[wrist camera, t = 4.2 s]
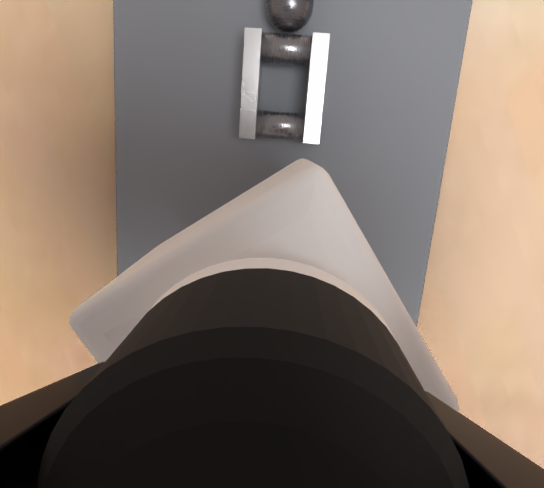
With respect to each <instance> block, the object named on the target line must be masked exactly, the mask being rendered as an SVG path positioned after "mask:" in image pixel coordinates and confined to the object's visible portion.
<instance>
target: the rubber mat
mask: <svg viewBox="0 0 544 488" xmlns="http://www.w3.org/2000/svg"><path fill="white" fill-rule="evenodd" d="M266 1H267V0H113V11H114V78H115V145H116V212H117V276H118V275H120V274H121V273H122V272H124V271H125V270H126V269H128V268H129V267H130V266H132V265H133V264H134V263H136V262H137V261H138V260H140V259H141V258H142V257H143V256H145V255H146V254H147V253H149V252H150V251H151V250H153V249H154V248H155V247H157V246H158V245H160V244H161V243H163V242H164V241H166V240H168V239H169V238H171V237H173V236H174V235H176V234H177V233H179V232H181V231H182V230H184V229H186V228H187V227H189V226H190V225H192V224H194V223H195V222H197V221H199V220H200V219H202V218H203V217H205V216H207V215H208V214H210V213H212V212H213V211H215V210H217V209H218V208H220V207H221V206H223V205H225V204H226V203H228V202H230V201H231V200H233V199H234V198H236V197H238V196H239V195H241V194H243V193H244V192H246V191H247V190H249V189H251V188H252V187H254V186H256V185H257V184H259V183H260V182H262V181H264V180H265V179H267V178H269V177H270V176H272V175H273V174H275V173H277V172H278V171H280V170H282V169H283V168H285V167H286V166H288V165H290V164H291V163H293V162H295V161H296V160H298V159H302V158H304V159H308V160H310V161H311V162H313V163H315V164H317V165H319V166H321V167H322V168H323V169H324V170H325V171H326V172H327V173H328V174H329V175H330V177H331V179H332V180H333V182H334V184H335V186H336V187H337V189H338V191H339V193H340V194H341V196H342V198H343V200H344V201H345V203H346V205H347V207H348V208H349V210H350V212H351V214H352V215H353V217H354V219H355V221H356V222H357V224H358V226H359V228H360V229H361V231H362V233H363V235H364V236H365V238H366V240H367V242H368V243H369V245H370V247H371V249H372V250H373V252H374V254H375V256H376V257H377V259H378V261H379V263H380V264H381V266H382V268H383V270H384V271H385V273H386V275H387V277H388V278H389V280H390V282H391V284H392V285H393V287H394V289H395V291H396V292H397V294H398V296H399V298H400V299H401V301H402V303H403V305H404V306H405V308H406V310H407V312H408V313H409V315H410V317H411V319H412V320H413V322H414V324H415V326H416V327H417V322H418V316H419V310H420V305H421V299H422V293H423V287H424V281H425V275H426V269H427V263H428V258H429V252H430V246H431V240H432V234H433V228H434V222H435V217H436V211H437V205H438V199H439V193H440V187H441V181H442V176H443V170H444V164H445V158H446V152H447V146H448V140H449V135H450V129H451V123H452V117H453V111H454V105H455V99H456V93H457V88H458V82H459V76H460V70H461V64H462V58H463V52H464V47H465V41H466V35H467V29H468V23H469V17H470V11H471V6H472V0H314V3H313V11H312V15H311V17H310V19H309V21H308V23H307V24H306V25H305V26H304V27H303V28H302V29H300V30H298V31H296V32H291V33H287V32H283V31H280V30H279V29H277V28H276V27H275V26H274V25H273V24H272V23H271V21H270V20H269V17H268V15H267V10H266ZM245 27H247V28H261V29H262V32H269V33H282V34H296V35H310V36H312V35H313V32H316V33H330V44H329V54H328V61H327V70H326V80H325V91H324V101H323V111H322V125H321V134H320V141H319V144H304V143H301V142H302V141H298V140H285V139H272V138H259V137H258V140H252V139H242V138H239V126H240V108H241V89H242V71H243V52H244V34H245ZM307 75H308V66H301V65H288V64H274V63H263V70H262V85H261V101H260V110H266V111H280V112H293V113H304V108H305V97H306V86H307Z"/></svg>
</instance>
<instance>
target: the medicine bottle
mask: <svg viewBox="0 0 544 488" xmlns="http://www.w3.org/2000/svg"><path fill="white" fill-rule="evenodd" d="M69 323H70V325H71V328H72V329H73V331H74V332H75V333H76V335H77V336H78V337H79V339H80V340H81V341H82V343H83V344H84V345H85V347H86V348H87V349H88V350H89V352H90V353H91V354H92V356H93V357H94V358H95V360H96V361H97V362H98V364H99V363H101V362H105V361H106V362H105V363H104V364H103V365H102V366H101V367H100V369H99V370H98V371H97V372H96V373H95V375H94V376H93V377H92V378H91V379H90V380H89V382H88V383H87V384H86V385H85V386H84V388H83V389H82V390H81V391H80V392H79V393H78V395H77V396H76V397H75V398H74V399H73V401H72V402H71V403H70V404H69V405H68V407H67V408H66V409H65V410H64V412H63V414H62V415H61V417H60V419H59V420H58V422H57V424H56V426H55V427H54V429H53V431H52V432H51V435H50V437H49V440H48V443H47V445H46V448H45V451H44V453H43V456H42V460H41V465H40V470H39V476H38V481H37V488H469V483H468V480H467V476H466V473H465V469H464V466H463V462H462V459H461V457H460V455H459V453H458V451H457V449H456V447H455V444H454V442H453V440H452V438H451V436H450V434H449V432H448V431H447V429H446V427H445V425H444V424H443V422H442V420H441V418H440V417H439V415H438V413H437V411H436V410H435V408H434V406H433V404H432V402H431V401H430V399H429V397H428V395H427V394H426V392H425V391H427V392H429V393H431V394H432V395H433V396H435V397H436V398H438V399H439V400H441V401H442V402H444V403H445V404H447V405H448V406H450V407H451V408H453V409H454V410H456V411H457V412H458V410H459V406H458V402H457V397H456V396H455V394H454V392H453V390H452V389H451V387H450V385H449V383H448V382H447V380H446V378H445V376H444V375H443V373H442V371H441V369H440V368H439V366H438V364H437V362H436V361H435V359H434V357H433V355H432V354H431V352H430V350H429V348H428V347H427V345H426V343H425V341H424V340H423V338H422V336H421V334H420V333H419V331H418V329H417V327H416V326H415V324H414V322H413V320H412V319H411V317H410V315H409V313H408V312H407V310H406V308H405V306H404V305H403V303H402V301H401V299H400V298H399V296H398V294H397V292H396V291H395V289H394V287H393V285H392V284H391V282H390V280H389V278H388V277H387V275H386V273H385V271H384V270H383V268H382V266H381V264H380V263H379V261H378V259H377V257H376V256H375V254H374V252H373V250H372V249H371V247H370V245H369V243H368V242H367V240H366V238H365V236H364V235H363V233H362V231H361V229H360V228H359V226H358V224H357V222H356V221H355V219H354V217H353V215H352V214H351V212H350V210H349V208H348V207H347V205H346V203H345V201H344V200H343V198H342V196H341V194H340V193H339V191H338V189H337V187H336V186H335V184H334V182H333V180H332V179H331V177H330V175H329V174H328V173H327V172H326V171H325V170H324V169H323V168H322V167H321V166H319V165H317V164H315V163H313V162H311V161H310V160H308V159H304V158H302V159H298V160H296V161H295V162H293V163H291V164H290V165H288V166H286V167H285V168H283V169H282V170H280V171H278V172H277V173H275V174H273V175H272V176H270V177H269V178H267V179H265V180H264V181H262V182H260V183H259V184H257V185H256V186H254V187H252V188H251V189H249V190H247V191H246V192H244V193H243V194H241V195H239V196H238V197H236V198H234V199H233V200H231V201H230V202H228V203H226V204H225V205H223V206H221V207H220V208H218V209H217V210H215V211H213V212H212V213H210V214H208V215H207V216H205V217H203V218H202V219H200V220H199V221H197V222H195V223H194V224H192V225H190V226H189V227H187V228H186V229H184V230H182V231H181V232H179V233H177V234H176V235H174V236H173V237H171V238H169V239H168V240H166V241H164V242H163V243H161V244H160V245H158V246H157V247H155V248H154V249H153V250H151V251H150V252H149V253H147V254H146V255H145V256H143V257H142V258H141V259H140V260H138V261H137V262H136V263H134V264H133V265H132V266H130V267H129V268H128V269H126V270H125V271H124V272H122V273H121V274H120V275H118V276H117V277H116V278H115V279H113V280H112V281H111V282H109V283H108V284H107V285H105V286H104V287H103V288H101V289H100V290H99V291H97V292H96V293H95V294H93V295H92V296H91V297H90V298H88V299H87V300H86V301H84V302H83V303H82V304H80V305H79V306H78V307H77V308H76V309H75V310H74V311H73V312H72V314H71V316H70V321H69Z"/></svg>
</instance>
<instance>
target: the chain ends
mask: <svg viewBox="0 0 544 488" xmlns="http://www.w3.org/2000/svg"><path fill="white" fill-rule="evenodd" d="M313 3H314V0H267V1H266V10H267V15H268V17H269V20H270V21H271V23H272V24H273V25H274V26H275V27H276V28H277V29H279V30H280V31H283V32H287V33H291V32H296V31H298V30H300V29H302V28H303V27H304V26H305V25H306V24H307V23H308V21H309V19H310V17H311V15H312V11H313ZM329 44H330V33H316V32H313V35H312V36H310V35H296V34H282V33H269V32H262V29H261V28H247V27H245V34H244V52H243V71H242V89H241V108H240V126H239V138H242V139H252V140H258V137H259V138H272V139H285V140H298V141H302V142H301V143H304V144H319V141H320V134H321V125H322V111H323V101H324V91H325V80H326V70H327V61H328V54H329ZM263 63H274V64H288V65H301V66H308V75H307V86H306V97H305V108H304V113H293V112H280V111H266V110H260V101H261V85H262V70H263Z"/></svg>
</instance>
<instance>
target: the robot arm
mask: <svg viewBox="0 0 544 488" xmlns="http://www.w3.org/2000/svg"><path fill="white" fill-rule="evenodd" d="M105 362H106V361H105ZM105 362H101V363H99V364H96V365H94V366H92V367H89V368H87V369H85V370H82V371H80V372H78V373H75V374H73V375H71V376H69V377H66V378H64V379H62V380H59V381H57V382H55V383H52V384H50V385H48V386H45V387H43V388H41V389H38V390H36V391H34V392H31V393H29V394H27V395H24V396H22V397H20V398H17V399H15V400H13V401H10V402H8V403H6V404H3V405H1V406H0V488H37V481H38V476H39V470H40V465H41V460H42V456H43V453H44V451H45V448H46V445H47V443H48V440H49V437H50V435H51V432H52V431H53V429H54V427H55V426H56V424H57V422H58V420H59V419H60V417H61V415H62V414H63V412H64V410H65V409H66V408H67V407H68V405H69V404H70V403H71V402H72V401H73V399H74V398H75V397H76V396H77V395H78V393H79V392H80V391H81V390H82V389H83V388H84V386H85V385H86V384H87V383H88V382H89V380H90V379H91V378H92V377H93V376H94V375H95V373H96V372H97V371H98V370H99V369H100V367H101V366H102V365H103V364H104V363H105ZM425 392H426V394H427V395H428V397H429V399H430V401H431V402H432V404H433V406H434V408H435V410H436V411H437V413H438V415H439V417H440V418H441V420H442V422H443V424H444V425H445V427H446V429H447V431H448V432H449V434H450V436H451V438H452V440H453V442H454V444H455V447H456V449H457V451H458V453H459V455H460V457H461V459H462V462H463V466H464V469H465V473H466V476H467V480H468V483H469V488H544V469H543V468H541V467H540V466H538V465H537V464H535V463H534V462H532V461H531V460H529V459H528V458H526V457H525V456H523V455H522V454H520V453H519V452H517V451H516V450H514V449H513V448H511V447H510V446H508V445H507V444H505V443H504V442H502V441H501V440H499V439H498V438H496V437H495V436H493V435H492V434H490V433H489V432H487V431H486V430H484V429H483V428H481V427H480V426H478V425H477V424H475V423H474V422H472V421H471V420H469V419H468V418H466V417H465V416H463V415H462V414H460V413H459V412H457V411H456V410H454V409H453V408H451V407H450V406H448V405H447V404H445V403H444V402H442V401H441V400H439V399H438V398H436V397H435V396H433V395H432V394H431V393H429V392H427V391H425Z"/></svg>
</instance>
